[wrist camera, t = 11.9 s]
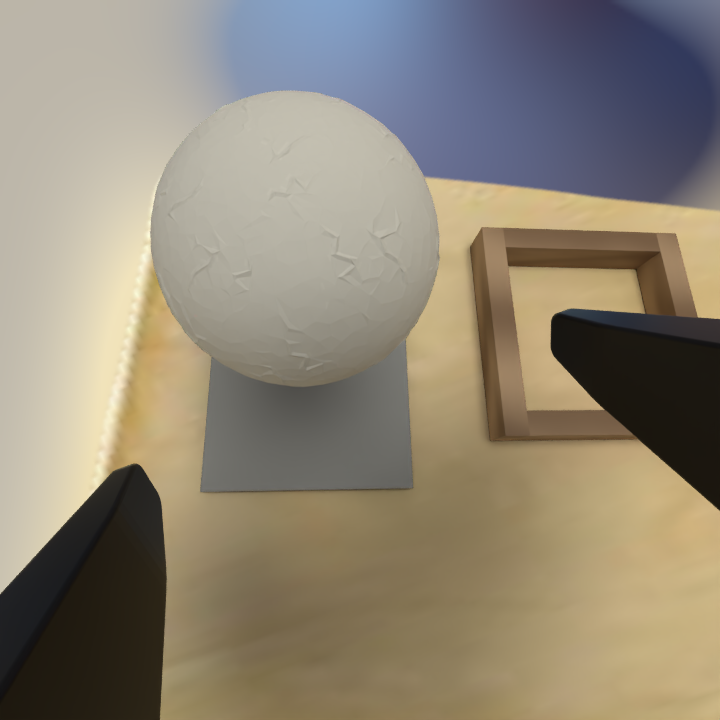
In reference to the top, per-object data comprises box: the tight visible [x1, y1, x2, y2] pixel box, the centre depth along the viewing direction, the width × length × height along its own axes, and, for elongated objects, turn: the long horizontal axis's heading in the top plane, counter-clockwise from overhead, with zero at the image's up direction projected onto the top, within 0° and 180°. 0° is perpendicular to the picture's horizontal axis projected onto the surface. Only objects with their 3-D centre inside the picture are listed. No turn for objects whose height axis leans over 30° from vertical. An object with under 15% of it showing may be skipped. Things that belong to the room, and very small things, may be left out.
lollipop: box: [150, 91, 440, 387], centre depth 15 cm, size 7×7×15 cm
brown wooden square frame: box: [470, 227, 698, 441], centre depth 24 cm, size 11×11×2 cm
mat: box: [200, 339, 413, 492], centre depth 23 cm, size 12×10×1 cm
